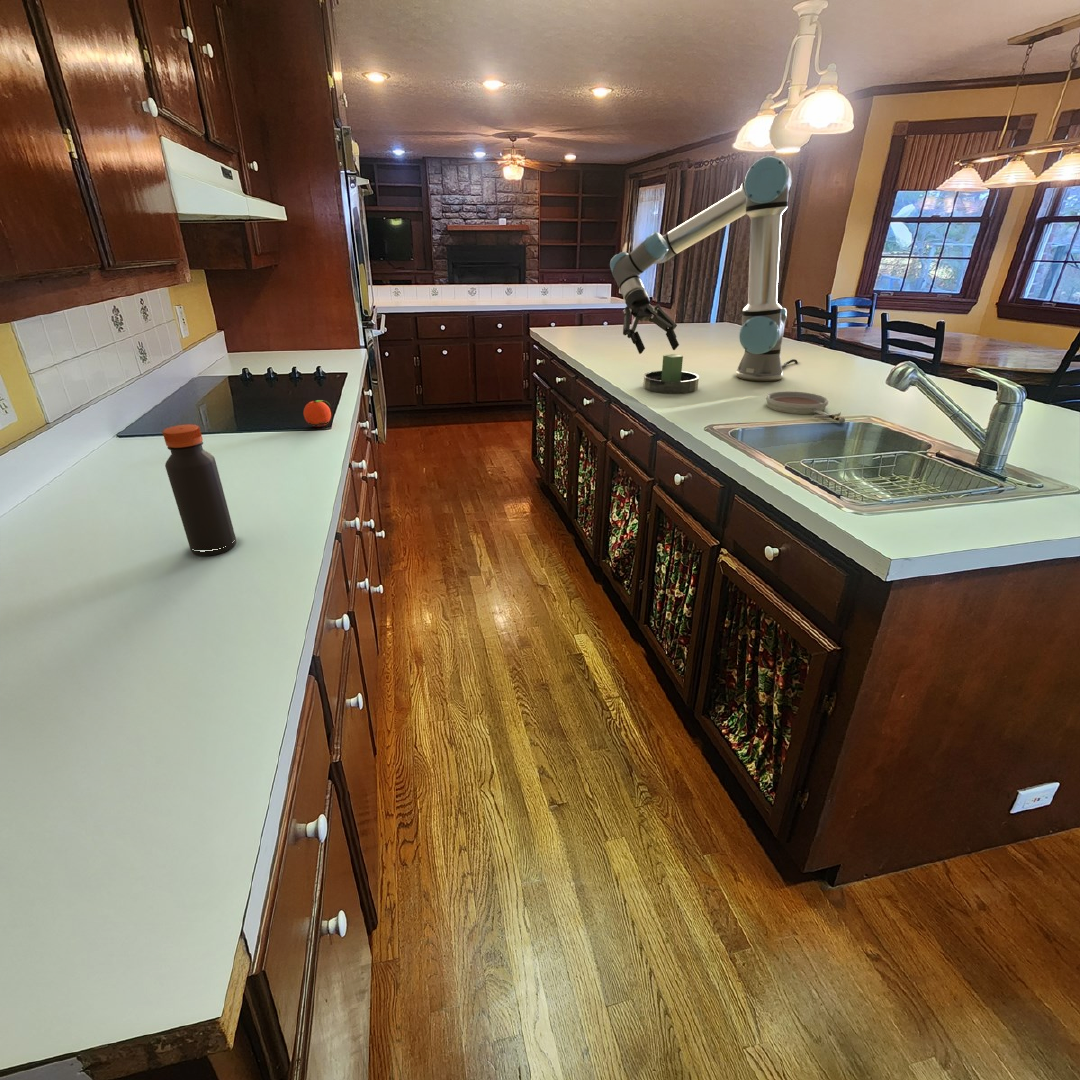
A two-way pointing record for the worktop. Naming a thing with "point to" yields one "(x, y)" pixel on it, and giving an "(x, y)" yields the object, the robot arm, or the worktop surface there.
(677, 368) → the green block
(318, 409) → the clementine
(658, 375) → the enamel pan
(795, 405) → the frying pan
